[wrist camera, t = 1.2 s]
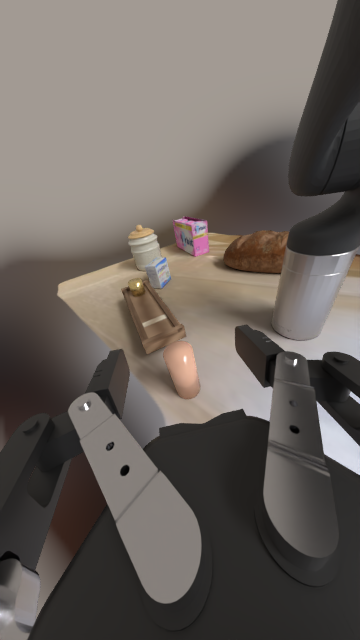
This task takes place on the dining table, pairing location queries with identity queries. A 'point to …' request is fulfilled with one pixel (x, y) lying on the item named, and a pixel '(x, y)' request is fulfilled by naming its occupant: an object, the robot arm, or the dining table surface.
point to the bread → (258, 252)
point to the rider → (182, 368)
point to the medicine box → (158, 272)
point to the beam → (153, 319)
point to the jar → (144, 246)
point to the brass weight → (136, 287)
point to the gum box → (192, 235)
